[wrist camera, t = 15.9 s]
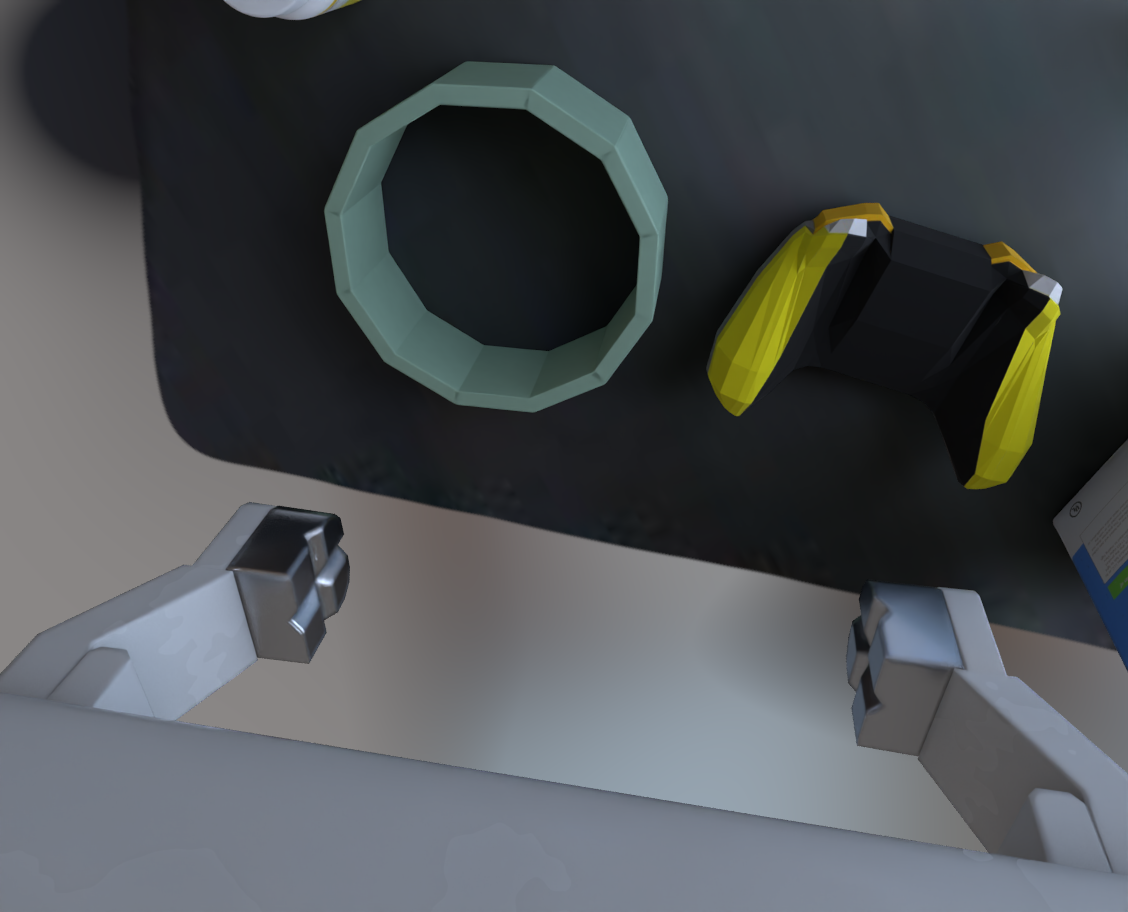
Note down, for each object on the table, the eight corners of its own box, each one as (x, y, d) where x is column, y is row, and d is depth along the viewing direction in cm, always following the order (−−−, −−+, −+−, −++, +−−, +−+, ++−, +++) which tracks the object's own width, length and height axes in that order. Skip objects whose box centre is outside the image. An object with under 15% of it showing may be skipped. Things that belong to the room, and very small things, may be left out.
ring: (350, 55, 37) (303, 76, 33) (678, 70, 35) (670, 94, 31) (385, 348, 46) (351, 394, 42) (653, 374, 44) (644, 424, 40)
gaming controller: (979, 445, 43) (1101, 268, 37) (1007, 511, 38) (1150, 321, 32) (699, 357, 43) (775, 166, 37) (693, 413, 38) (779, 205, 32)
